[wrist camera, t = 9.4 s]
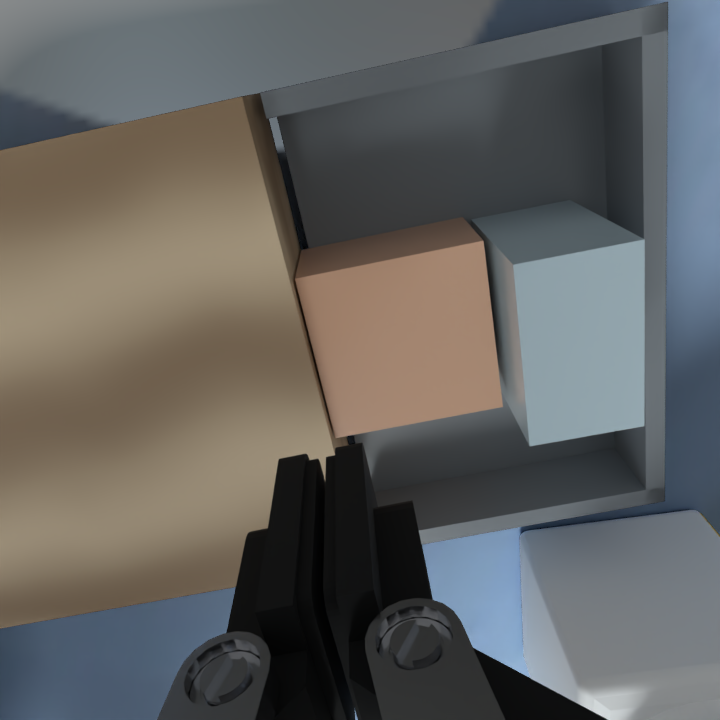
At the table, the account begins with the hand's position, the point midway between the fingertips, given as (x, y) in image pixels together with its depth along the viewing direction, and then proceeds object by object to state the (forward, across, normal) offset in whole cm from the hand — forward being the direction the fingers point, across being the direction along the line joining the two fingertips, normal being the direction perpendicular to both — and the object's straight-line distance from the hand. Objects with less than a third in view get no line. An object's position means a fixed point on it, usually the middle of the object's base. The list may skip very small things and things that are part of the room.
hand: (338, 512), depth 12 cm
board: (+9, +7, -1) cm, 12 cm away
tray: (+9, -5, -1) cm, 10 cm away
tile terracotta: (+9, -2, -1) cm, 9 cm away
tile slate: (+6, -5, -1) cm, 8 cm away
